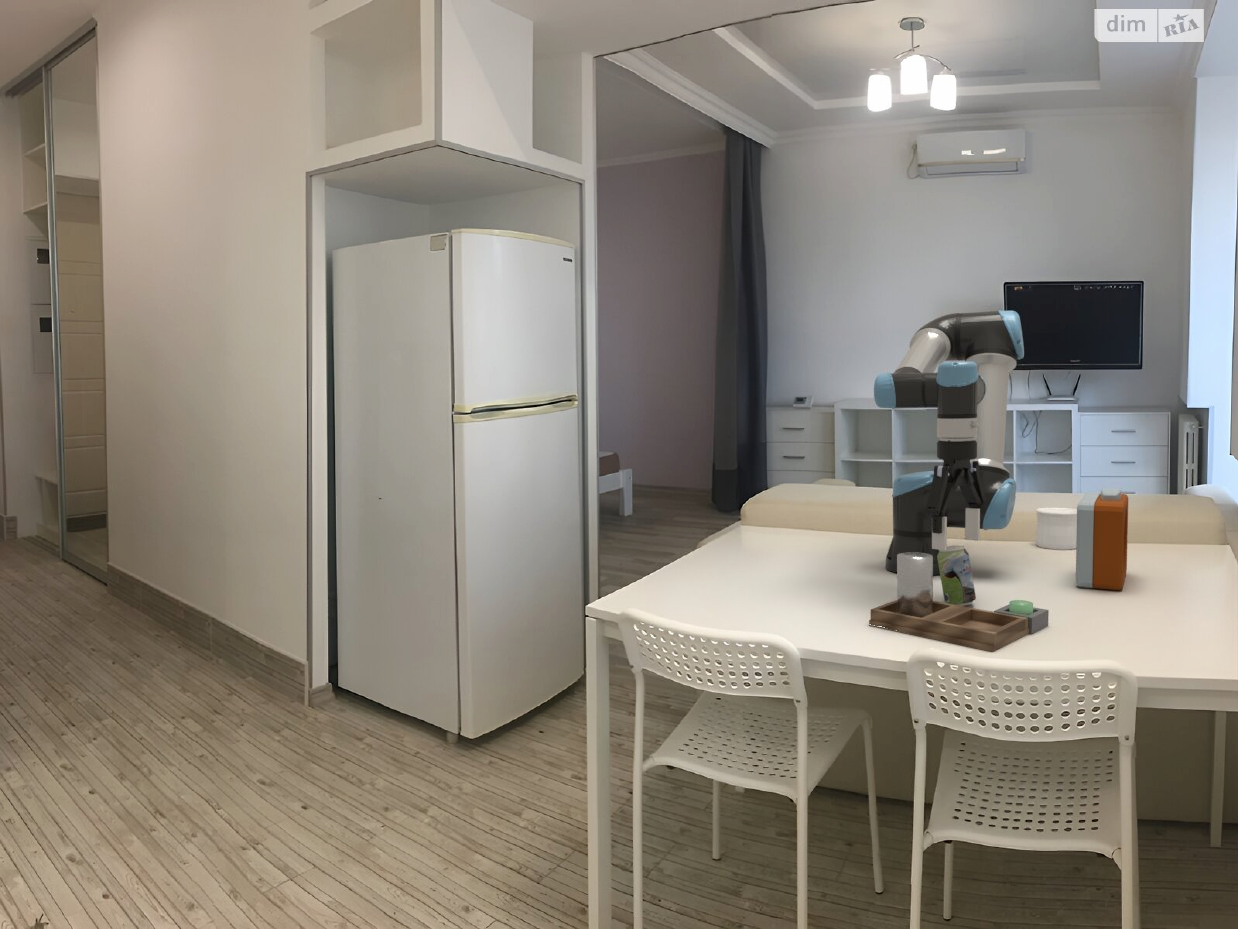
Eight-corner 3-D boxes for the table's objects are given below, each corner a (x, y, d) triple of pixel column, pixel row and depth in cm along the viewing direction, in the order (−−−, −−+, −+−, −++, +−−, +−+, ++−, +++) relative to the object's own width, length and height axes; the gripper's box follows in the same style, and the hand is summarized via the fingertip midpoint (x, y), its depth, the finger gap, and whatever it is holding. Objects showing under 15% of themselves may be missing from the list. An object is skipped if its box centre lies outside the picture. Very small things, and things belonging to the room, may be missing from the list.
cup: (1085, 549, 229) (1086, 512, 228) (1046, 551, 229) (1046, 513, 228) (1067, 542, 238) (1068, 506, 237) (1029, 543, 238) (1030, 507, 237)
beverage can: (978, 609, 178) (978, 549, 177) (939, 608, 180) (939, 549, 178) (972, 601, 184) (972, 543, 183) (935, 600, 186) (935, 543, 184)
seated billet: (890, 618, 170) (890, 556, 169) (908, 611, 175) (908, 550, 173) (921, 624, 166) (921, 560, 164) (939, 617, 170) (939, 555, 169)
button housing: (993, 626, 166) (993, 611, 166) (1010, 618, 171) (1010, 603, 170) (1031, 634, 161) (1032, 617, 160) (1048, 625, 165) (1048, 609, 165)
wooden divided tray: (869, 625, 170) (869, 610, 169) (908, 610, 179) (908, 595, 179) (992, 651, 152) (993, 634, 152) (1029, 633, 161) (1029, 617, 161)
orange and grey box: (1122, 592, 187) (1124, 495, 184) (1075, 588, 191) (1076, 493, 189) (1126, 574, 202) (1128, 483, 200) (1083, 570, 207) (1084, 482, 205)
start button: (1005, 626, 166) (1005, 603, 165) (1015, 622, 169) (1015, 599, 168) (1027, 631, 163) (1027, 606, 162) (1036, 626, 166) (1036, 602, 165)
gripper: (943, 444, 167) (942, 556, 169) (1004, 435, 184) (1002, 537, 186) (906, 442, 173) (906, 551, 175) (969, 435, 189) (968, 534, 191)
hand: (956, 544), depth 180 cm, fingers open, 13 cm apart
